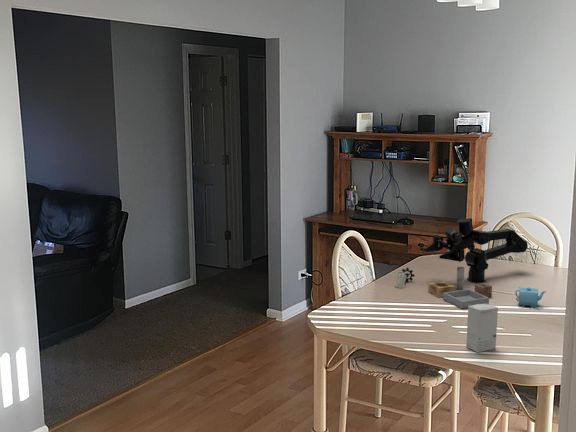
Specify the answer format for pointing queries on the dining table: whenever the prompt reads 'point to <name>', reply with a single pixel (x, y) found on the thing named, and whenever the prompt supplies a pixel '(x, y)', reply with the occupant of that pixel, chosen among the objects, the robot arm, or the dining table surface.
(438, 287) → the oak block
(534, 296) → the teapot
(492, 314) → the skincare box
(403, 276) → the valve
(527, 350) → the dining table surface
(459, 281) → the gauge pin
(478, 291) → the walnut block
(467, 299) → the tray
